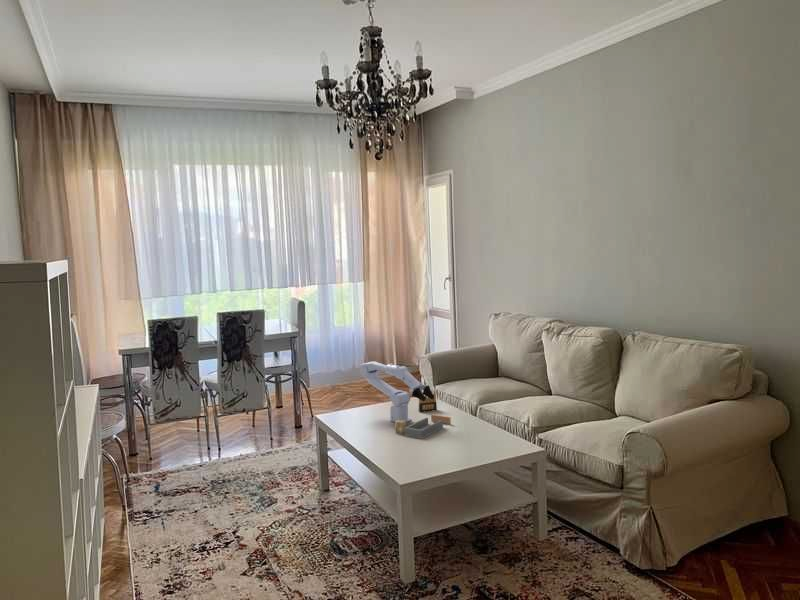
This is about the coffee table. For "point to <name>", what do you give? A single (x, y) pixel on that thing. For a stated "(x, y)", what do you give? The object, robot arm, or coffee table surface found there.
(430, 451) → the coffee table surface
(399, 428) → the block
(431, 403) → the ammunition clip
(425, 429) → the tray
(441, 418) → the end cap
